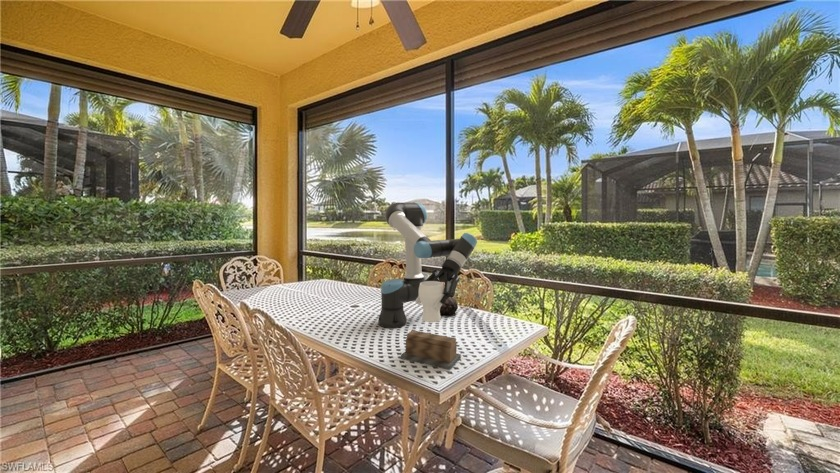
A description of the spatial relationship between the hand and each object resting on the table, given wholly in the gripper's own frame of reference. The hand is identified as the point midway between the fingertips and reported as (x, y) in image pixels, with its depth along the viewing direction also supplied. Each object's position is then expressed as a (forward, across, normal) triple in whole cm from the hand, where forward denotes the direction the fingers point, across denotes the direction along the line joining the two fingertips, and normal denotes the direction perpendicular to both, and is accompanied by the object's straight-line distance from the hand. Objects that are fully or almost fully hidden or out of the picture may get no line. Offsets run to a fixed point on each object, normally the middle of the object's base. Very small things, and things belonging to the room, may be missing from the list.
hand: (426, 306), depth 141 cm
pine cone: (-17, +39, -50) cm, 66 cm away
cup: (+2, 0, -6) cm, 7 cm away
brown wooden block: (+14, 0, -18) cm, 23 cm away
